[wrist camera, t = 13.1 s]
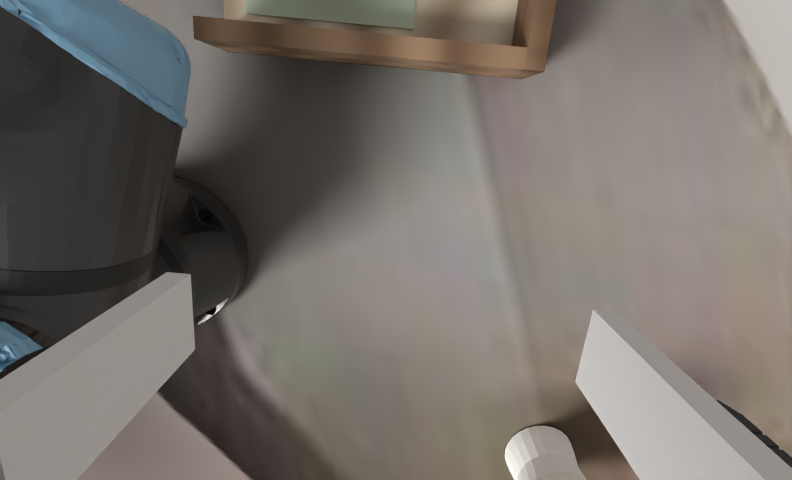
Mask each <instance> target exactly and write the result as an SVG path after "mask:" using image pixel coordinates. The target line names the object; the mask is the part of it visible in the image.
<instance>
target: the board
mask: <svg viewBox="0 0 792 480" xmlns="http://www.w3.org/2000/svg"><path fill="white" fill-rule="evenodd" d="M223 4H224V19H232V20H242V21H253V22H263V23H274V24H285V25H295V26H306V27H316V28H327V29H337V30H348V31H359V32H369V33H380V34H390V35H401V36H411V37H422V38H432V39H443V40H454V41H464V42H475V43H485V44H496V45H506V46H511V44H512V37H513V31H514V24H515V18H516V12H517V5H518V0H415V9H414V20H413V30H410V29H399V28H389V27H378V26H367V25H357V24H346V23H336V22H325V21H315V20H304V19H294V18H283V17H273V16H262V15H252V14H247V13H246V0H223Z"/></svg>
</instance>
